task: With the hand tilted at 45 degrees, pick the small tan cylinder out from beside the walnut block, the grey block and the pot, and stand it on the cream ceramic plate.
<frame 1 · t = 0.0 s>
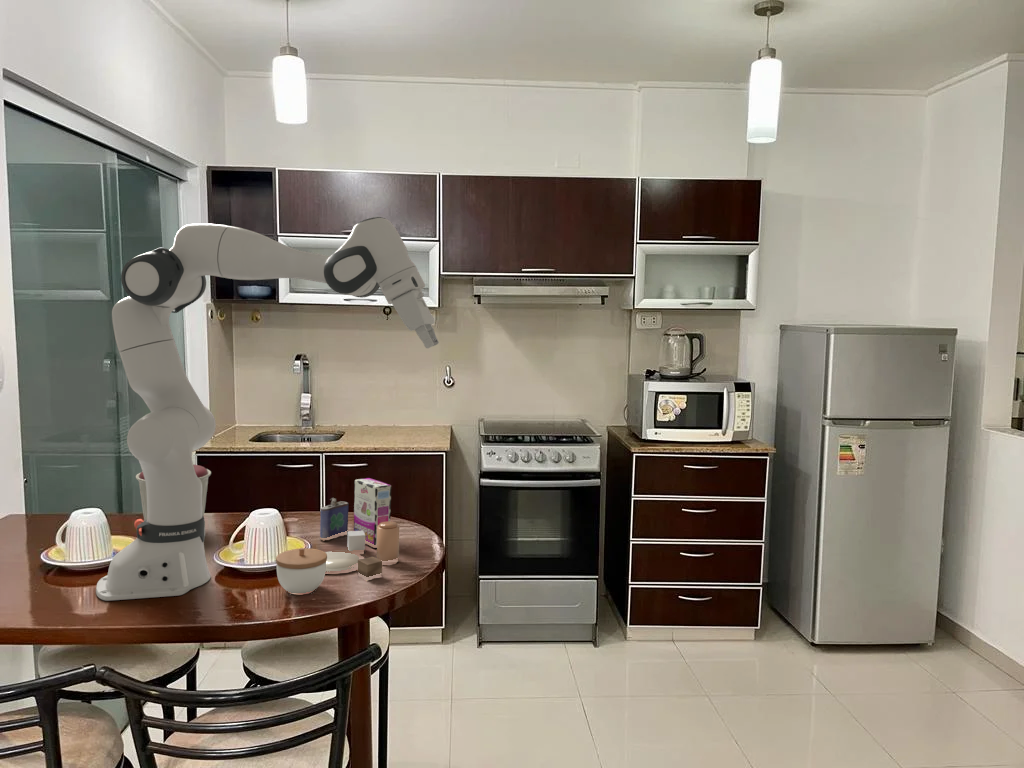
hand: (433, 346, 156), 54 cm above the table, tool tilted 30°, fingers open, 8 cm apart
lidded jar: (301, 591, 159), on the table
grey block: (355, 552, 185), on the table
candy bar box: (371, 543, 193), on the table
canister: (174, 535, 194), on the table
walnut block: (369, 577, 168), on the table
cream plate: (335, 564, 175), on the table
flask: (333, 538, 196), on the table
tan cylinder: (387, 562, 179), on the table
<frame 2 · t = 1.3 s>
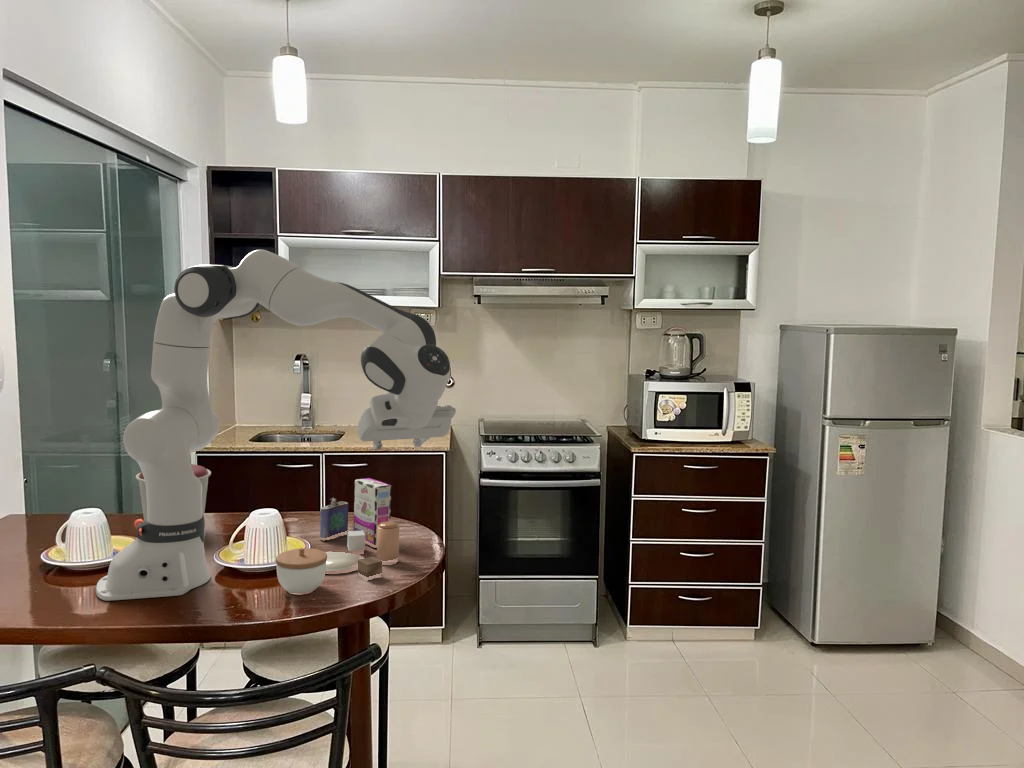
hand: (396, 445, 162), 32 cm above the table, tool tilted 45°, fingers open, 8 cm apart
nothing on the table moved.
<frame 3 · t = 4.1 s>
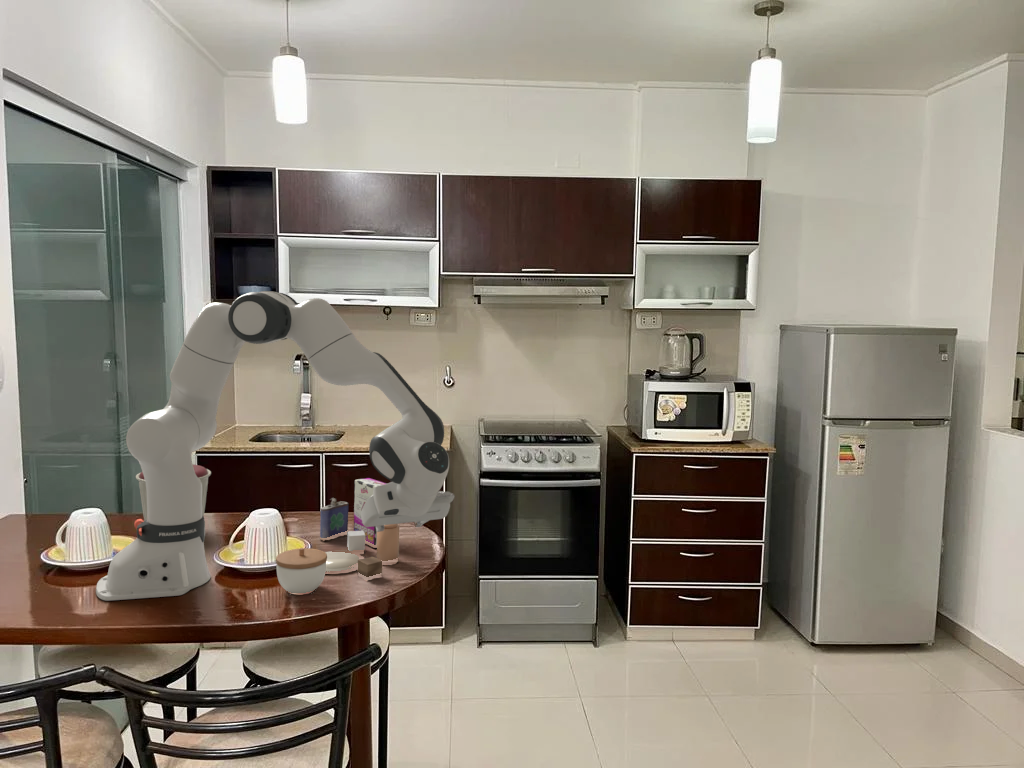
hand: (398, 526, 171), 11 cm above the table, tool tilted 45°, fingers open, 8 cm apart
nothing on the table moved.
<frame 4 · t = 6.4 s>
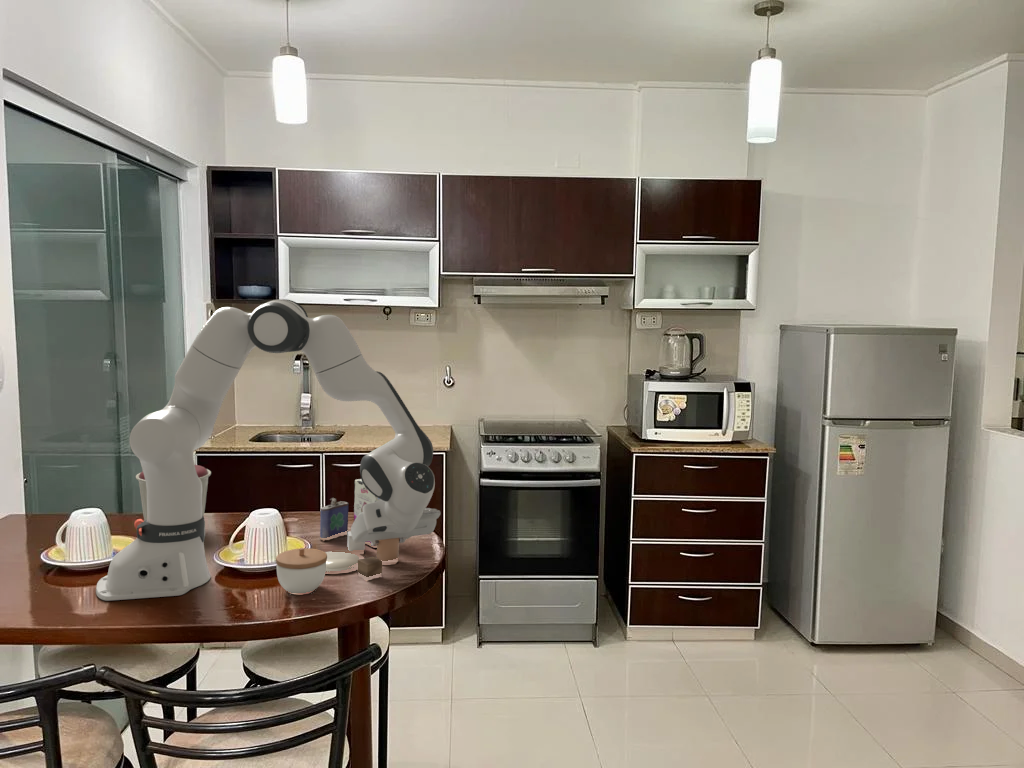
hand: (387, 541, 179), 5 cm above the table, tool tilted 45°, fingers closed on tan cylinder, 5 cm apart
tan cylinder: (387, 561, 179), on the table, touching gripper
everything else where it was.
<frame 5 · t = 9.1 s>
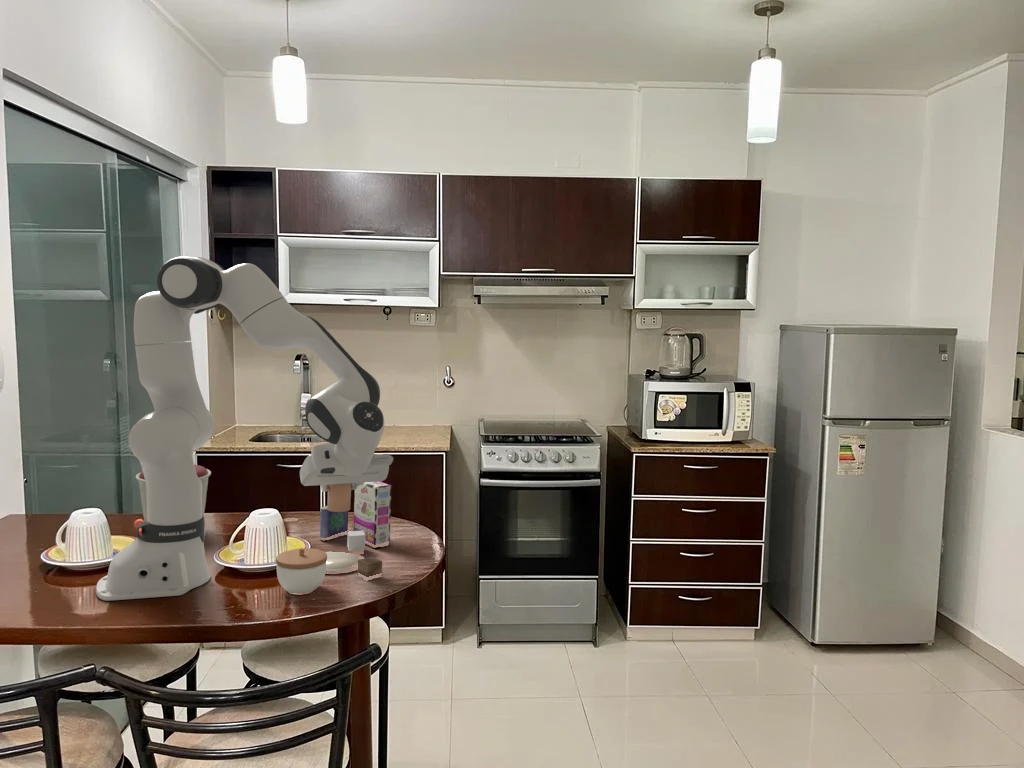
hand: (338, 488, 175), 19 cm above the table, tool tilted 45°, fingers closed on tan cylinder, 5 cm apart
tan cylinder: (338, 508, 174), point 14 cm above the table, touching gripper
everything else where it was.
when the fingers open (7 cm above the table, at t = 12.1 s): tan cylinder stays where it is, resting on cream plate.
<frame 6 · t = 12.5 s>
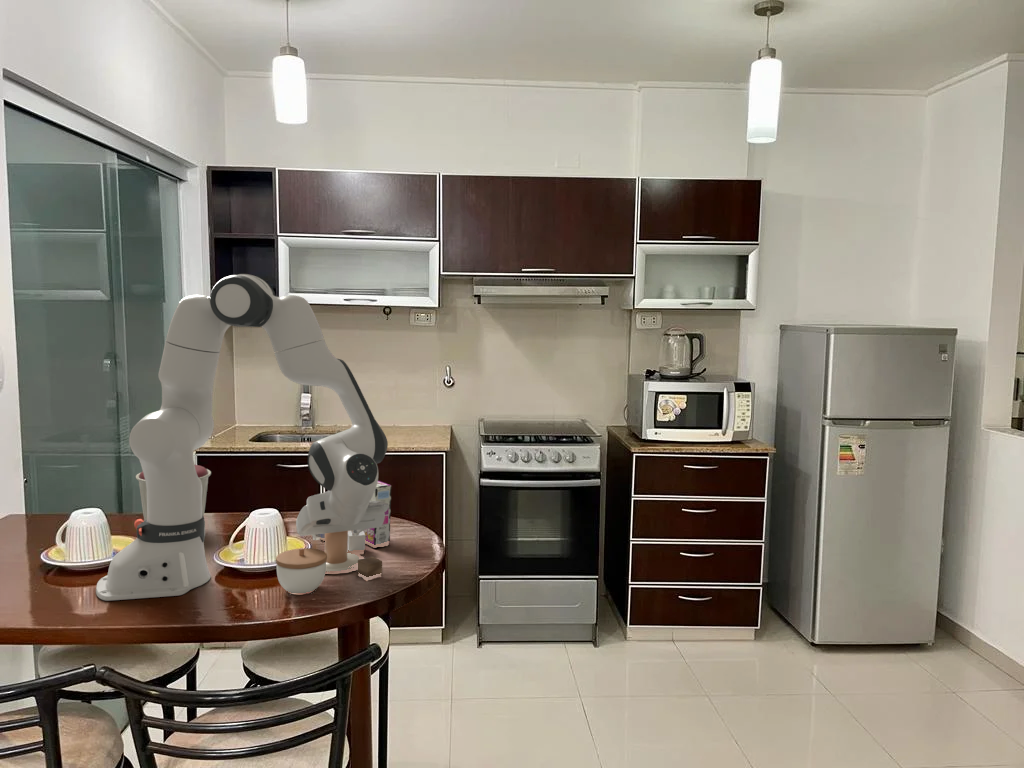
hand: (335, 535, 175), 7 cm above the table, tool tilted 45°, fingers open, 8 cm apart
tan cylinder: (335, 559, 175), point 1 cm above the table, touching cream plate
everything else where it was.
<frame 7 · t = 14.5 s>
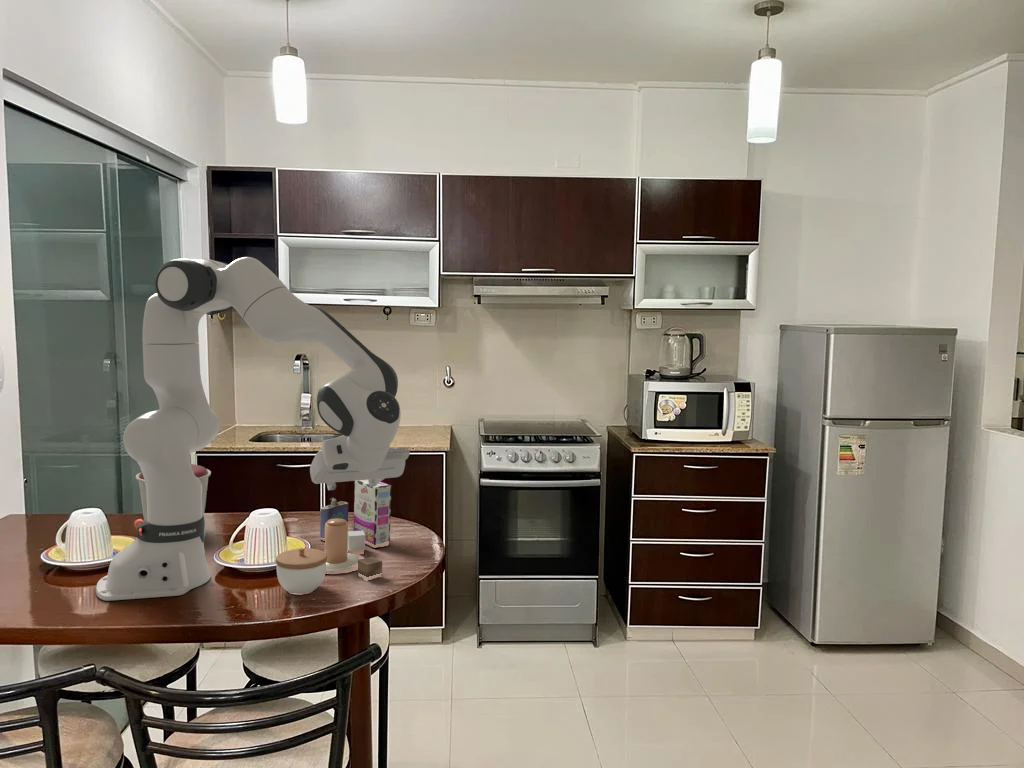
hand: (351, 485, 163), 22 cm above the table, tool tilted 45°, fingers open, 8 cm apart
nothing on the table moved.
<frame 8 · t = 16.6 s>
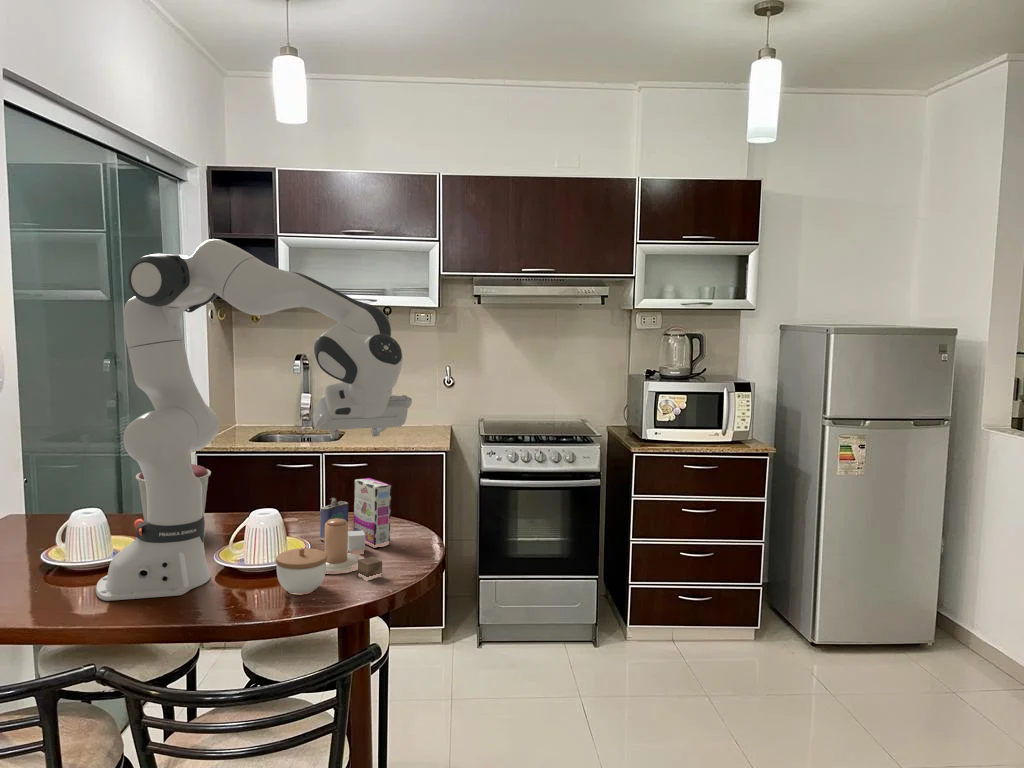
hand: (354, 435, 164), 33 cm above the table, tool tilted 45°, fingers open, 8 cm apart
nothing on the table moved.
at the end: tan cylinder 0.0 cm from the cream plate (horizontally); tan cylinder tilted 0°; the gripper is holding nothing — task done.
